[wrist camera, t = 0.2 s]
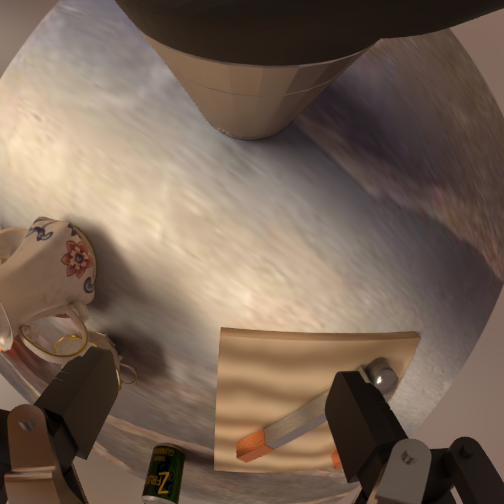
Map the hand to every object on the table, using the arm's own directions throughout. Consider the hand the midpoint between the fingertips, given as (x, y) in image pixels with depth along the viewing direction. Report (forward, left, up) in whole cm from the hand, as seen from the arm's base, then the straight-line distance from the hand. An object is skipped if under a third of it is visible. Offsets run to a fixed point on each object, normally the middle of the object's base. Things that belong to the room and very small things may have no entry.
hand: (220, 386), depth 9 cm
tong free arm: (+20, +11, -16) cm, 27 cm away
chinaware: (+6, -20, -18) cm, 27 cm away
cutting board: (+24, +11, -17) cm, 31 cm away
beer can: (+36, -8, -18) cm, 40 cm away
